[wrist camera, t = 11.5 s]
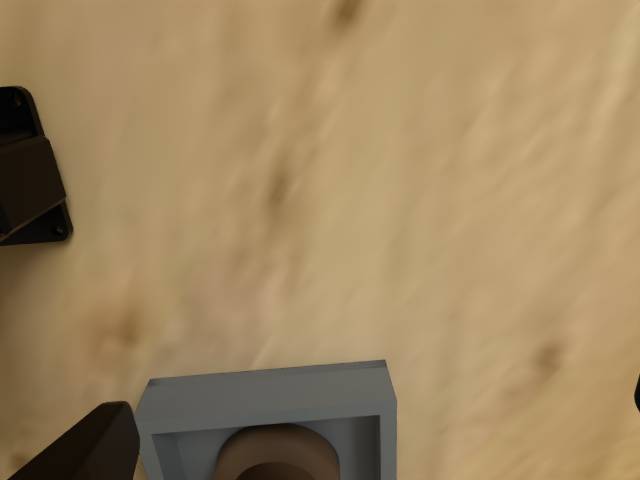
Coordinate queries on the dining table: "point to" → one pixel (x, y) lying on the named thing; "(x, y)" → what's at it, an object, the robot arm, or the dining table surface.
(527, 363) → the dining table surface
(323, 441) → the handle
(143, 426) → the box
